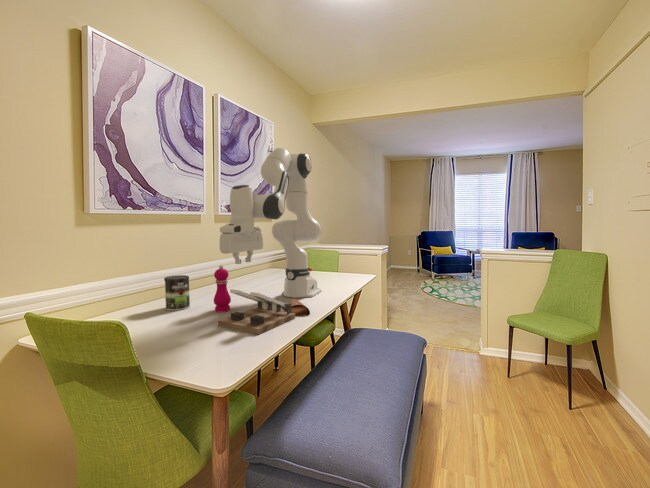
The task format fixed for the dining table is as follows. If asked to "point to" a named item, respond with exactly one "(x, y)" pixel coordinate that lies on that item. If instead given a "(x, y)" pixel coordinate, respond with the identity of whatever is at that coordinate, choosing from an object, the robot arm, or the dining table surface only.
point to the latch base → (257, 329)
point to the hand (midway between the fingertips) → (243, 263)
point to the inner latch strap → (247, 296)
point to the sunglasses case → (297, 308)
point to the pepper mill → (221, 290)
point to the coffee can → (177, 292)
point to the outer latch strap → (268, 299)
